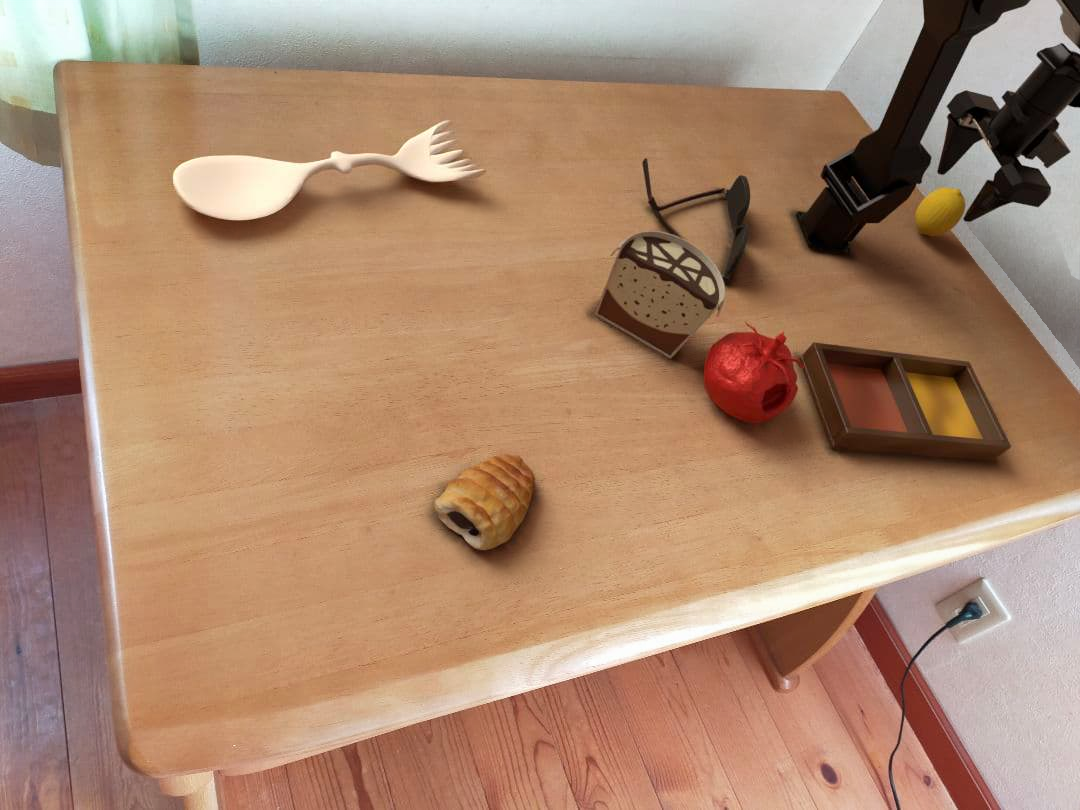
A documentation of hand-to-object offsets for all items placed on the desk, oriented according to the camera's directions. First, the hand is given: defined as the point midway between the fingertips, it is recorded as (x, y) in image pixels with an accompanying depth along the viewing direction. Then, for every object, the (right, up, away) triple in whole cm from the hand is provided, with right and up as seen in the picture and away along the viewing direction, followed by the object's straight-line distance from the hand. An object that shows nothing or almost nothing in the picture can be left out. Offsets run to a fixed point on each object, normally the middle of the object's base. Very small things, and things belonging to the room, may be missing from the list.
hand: (953, 196), depth 118 cm
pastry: (-61, -37, -43) cm, 83 cm away
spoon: (-77, -5, -26) cm, 82 cm away
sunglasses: (-38, -6, -11) cm, 40 cm away
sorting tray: (-15, -29, -18) cm, 37 cm away
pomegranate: (-35, -27, -25) cm, 51 cm away
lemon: (-2, -4, +5) cm, 7 cm away
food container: (-45, -19, -23) cm, 54 cm away
